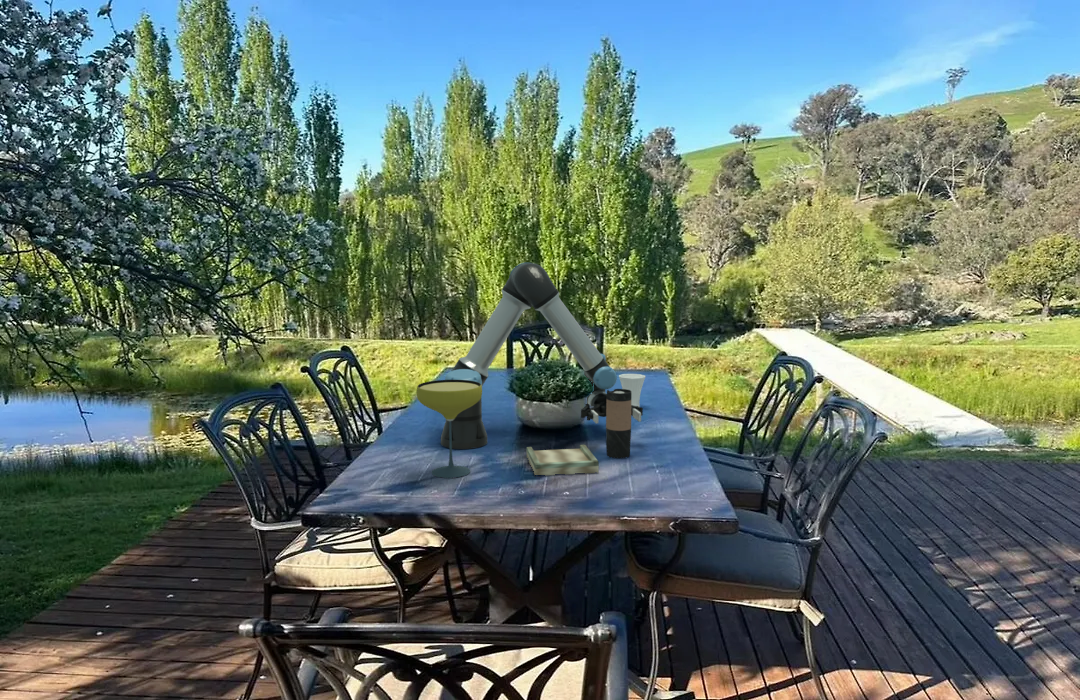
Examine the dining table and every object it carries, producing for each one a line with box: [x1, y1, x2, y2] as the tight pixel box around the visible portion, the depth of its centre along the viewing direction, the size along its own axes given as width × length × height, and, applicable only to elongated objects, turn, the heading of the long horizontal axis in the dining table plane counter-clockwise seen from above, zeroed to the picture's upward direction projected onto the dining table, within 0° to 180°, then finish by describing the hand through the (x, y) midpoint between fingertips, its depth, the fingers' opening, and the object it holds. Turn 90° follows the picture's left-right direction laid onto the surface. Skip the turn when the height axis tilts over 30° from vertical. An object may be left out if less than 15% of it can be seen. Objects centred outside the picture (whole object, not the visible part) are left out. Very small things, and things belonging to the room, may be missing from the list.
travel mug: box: [605, 388, 632, 459], centre depth 209 cm, size 8×8×20 cm
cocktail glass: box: [416, 379, 483, 479], centre depth 193 cm, size 18×18×25 cm
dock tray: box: [526, 444, 600, 476], centre depth 201 cm, size 18×18×3 cm
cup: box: [618, 373, 646, 407], centre depth 273 cm, size 10×10×14 cm
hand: (618, 418), depth 212 cm, fingers open, 13 cm apart
